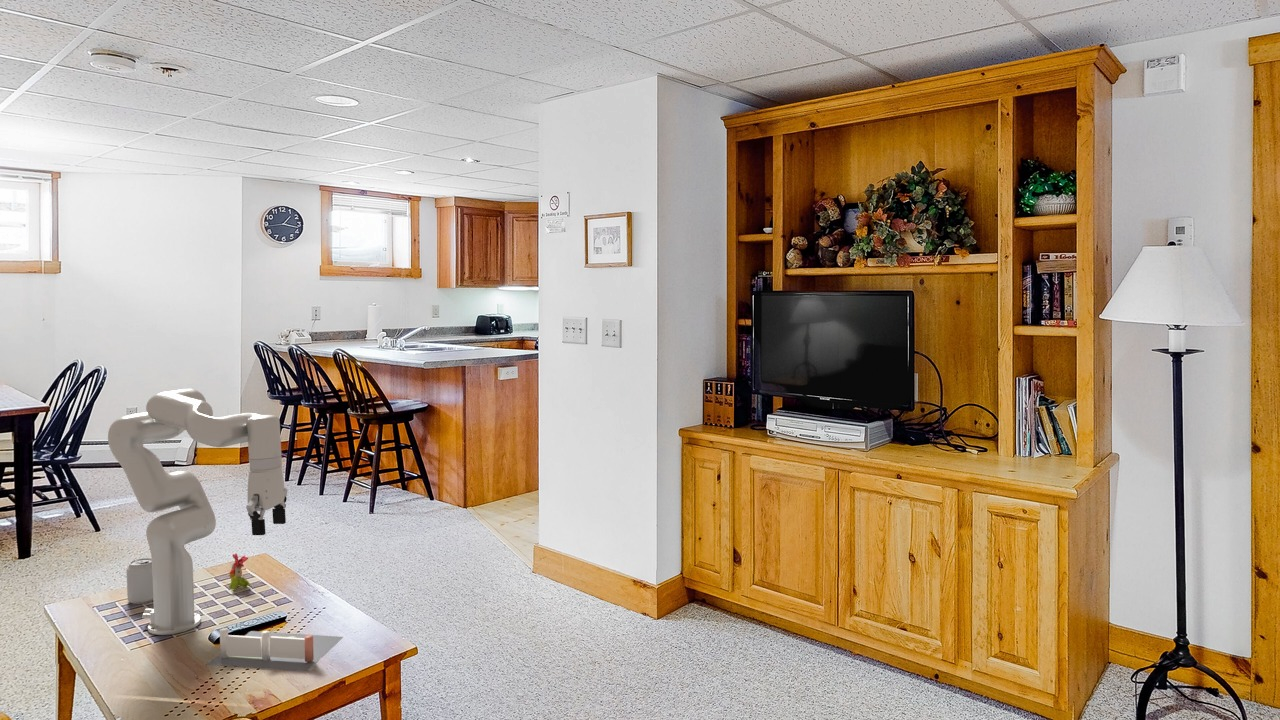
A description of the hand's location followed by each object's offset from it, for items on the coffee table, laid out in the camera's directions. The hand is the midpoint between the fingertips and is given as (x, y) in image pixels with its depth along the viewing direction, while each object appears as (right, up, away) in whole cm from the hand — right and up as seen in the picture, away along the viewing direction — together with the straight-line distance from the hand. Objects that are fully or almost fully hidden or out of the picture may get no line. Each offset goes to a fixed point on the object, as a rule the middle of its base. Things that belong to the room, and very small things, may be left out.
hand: (269, 529), depth 201 cm
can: (-52, -28, +31) cm, 67 cm away
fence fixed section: (-4, -31, -5) cm, 32 cm away
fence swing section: (+9, -31, -6) cm, 33 cm away
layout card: (+2, -32, 0) cm, 32 cm away
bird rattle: (-30, -27, +42) cm, 58 cm away
